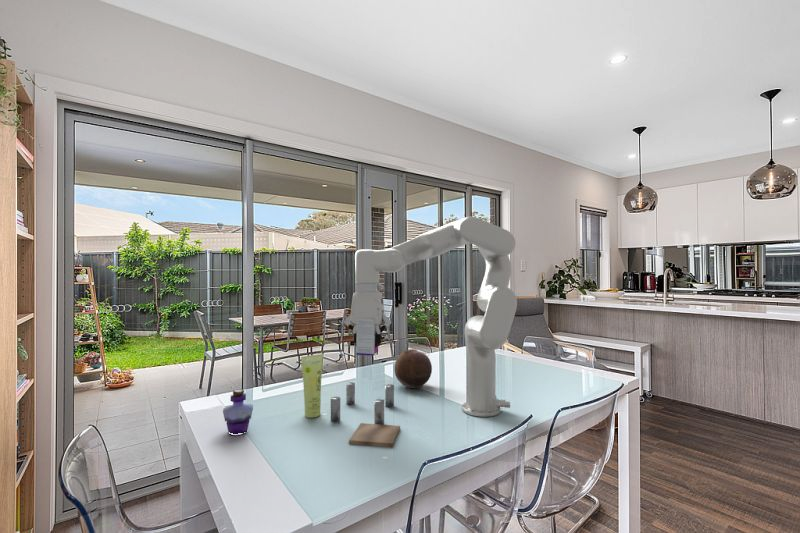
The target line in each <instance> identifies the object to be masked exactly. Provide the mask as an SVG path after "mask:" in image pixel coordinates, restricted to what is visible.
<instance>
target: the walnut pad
mask: <svg viewBox="0 0 800 533" xmlns="http://www.w3.org/2000/svg"><path fill="white" fill-rule="evenodd" d="M400 431H401V425H393V424H392V425H391V424H384V425H381V424H374V423H366V422H365V423H364V422H361V423H360V424H359V425H358V427H357V428H356V430H355V431H354V432H353V434H352V435H351V436H350V438H349V439H348V444H349V445H360V446H370V447H371V446H372V447H374V446H375V447H386V448H393V447H394V445H395V442H396V440H397V438H398V435H399V433H400Z"/></svg>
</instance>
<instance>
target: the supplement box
mask: <svg viewBox="0 0 800 533" xmlns="http://www.w3.org/2000/svg"><path fill="white" fill-rule="evenodd" d="M375 334H376V329H375V321H374V319H366V318H357V339H356V346H355V347H356V349H355V352H356V353H355V354H356V356H371V357H372V356H374V355H375V354H378V352H379V346H378V347H375Z"/></svg>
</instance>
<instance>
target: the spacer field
mask: <svg viewBox="0 0 800 533" xmlns="http://www.w3.org/2000/svg"><path fill="white" fill-rule="evenodd" d="M345 388H346V389H345V391H346V392H345V394H346V396H345V397H346V400H345V401H346V402H345V404H346V405H348V406H354V405H355V404H356V383H355V382H351V381H350V382H346V385H345ZM384 390H385V392H384V394H385V395H384V397H385V399H381V398H377V399H374V405H373V406H374V409H373V410H374V423H373V424H381V425H385V407H386V408H394V406H395V385H394V384H392V383H390V384H385V386H384ZM330 422H331V423H333V422H336V423H340V422H341V396H331V398H330Z"/></svg>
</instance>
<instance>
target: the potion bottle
mask: <svg viewBox="0 0 800 533" xmlns="http://www.w3.org/2000/svg"><path fill="white" fill-rule="evenodd" d="M244 392H245V390H244V389H235V390H233V391H232V394H231V395H230V402H232V404H231V405H227V406H226V407H224V408H223V410H222V413H223V418H224V422H226V429H227V431H228V433H229V432H230V433H233V434H238V433H244V432H247V430H248V431H249V425H250V421H251V419H252V415H253V410H254V404H251V403H246V402H244V401H246V400H247V394H246V393H244ZM247 433H248V432H247Z"/></svg>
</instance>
